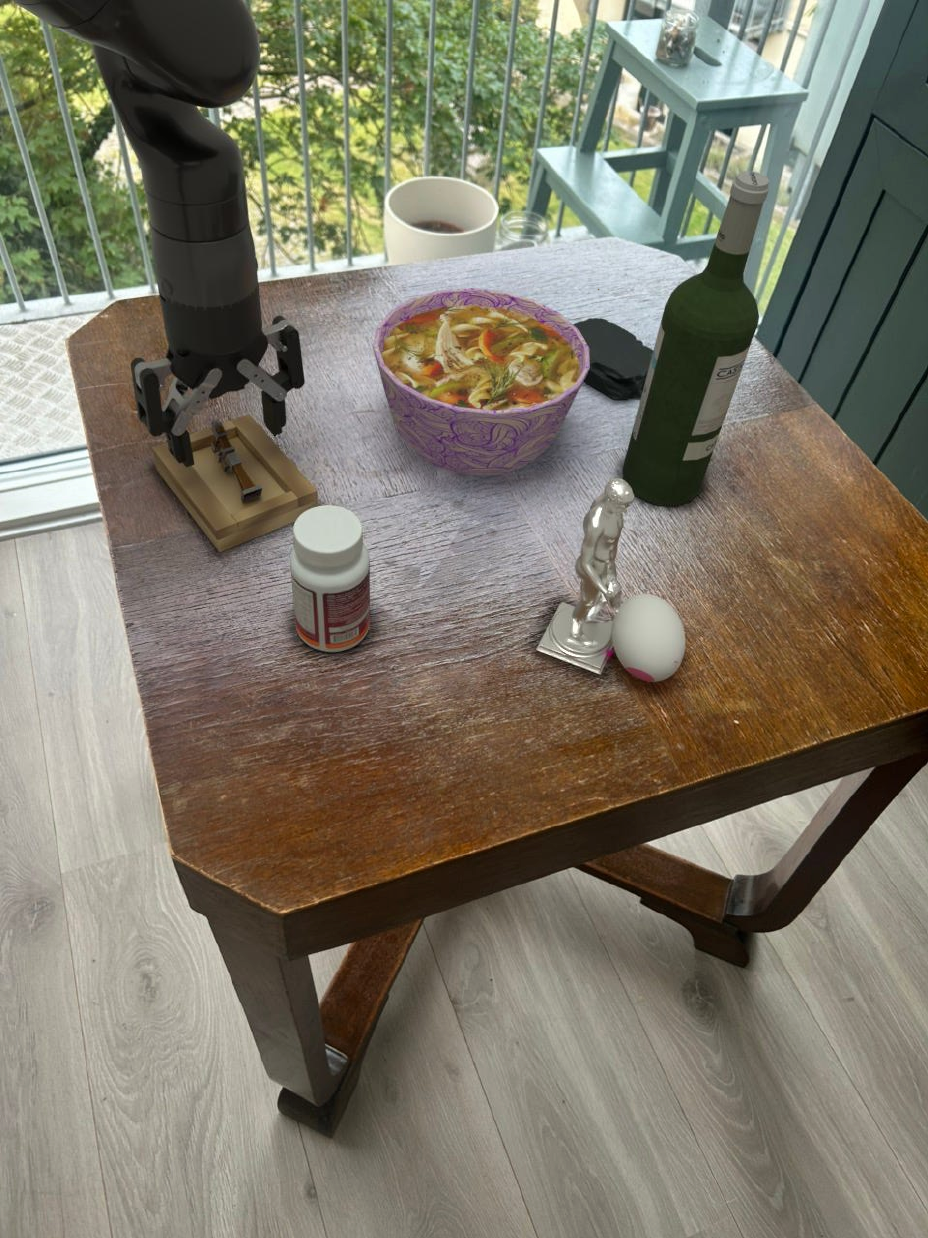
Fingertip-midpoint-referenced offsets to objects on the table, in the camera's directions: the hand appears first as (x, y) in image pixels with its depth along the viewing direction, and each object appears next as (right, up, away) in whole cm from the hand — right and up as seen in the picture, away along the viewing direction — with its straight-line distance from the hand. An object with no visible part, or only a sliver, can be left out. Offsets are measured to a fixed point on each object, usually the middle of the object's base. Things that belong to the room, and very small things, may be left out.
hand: (230, 445), depth 85 cm
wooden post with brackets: (0, -3, +3) cm, 4 cm away
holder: (0, -3, +4) cm, 6 cm away
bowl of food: (+22, +2, +11) cm, 24 cm away
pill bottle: (+10, -16, -5) cm, 20 cm away
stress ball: (+36, -19, -5) cm, 41 cm away
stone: (+37, +12, +22) cm, 45 cm away
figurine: (+30, -18, -5) cm, 35 cm away
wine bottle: (+40, -2, +10) cm, 42 cm away
